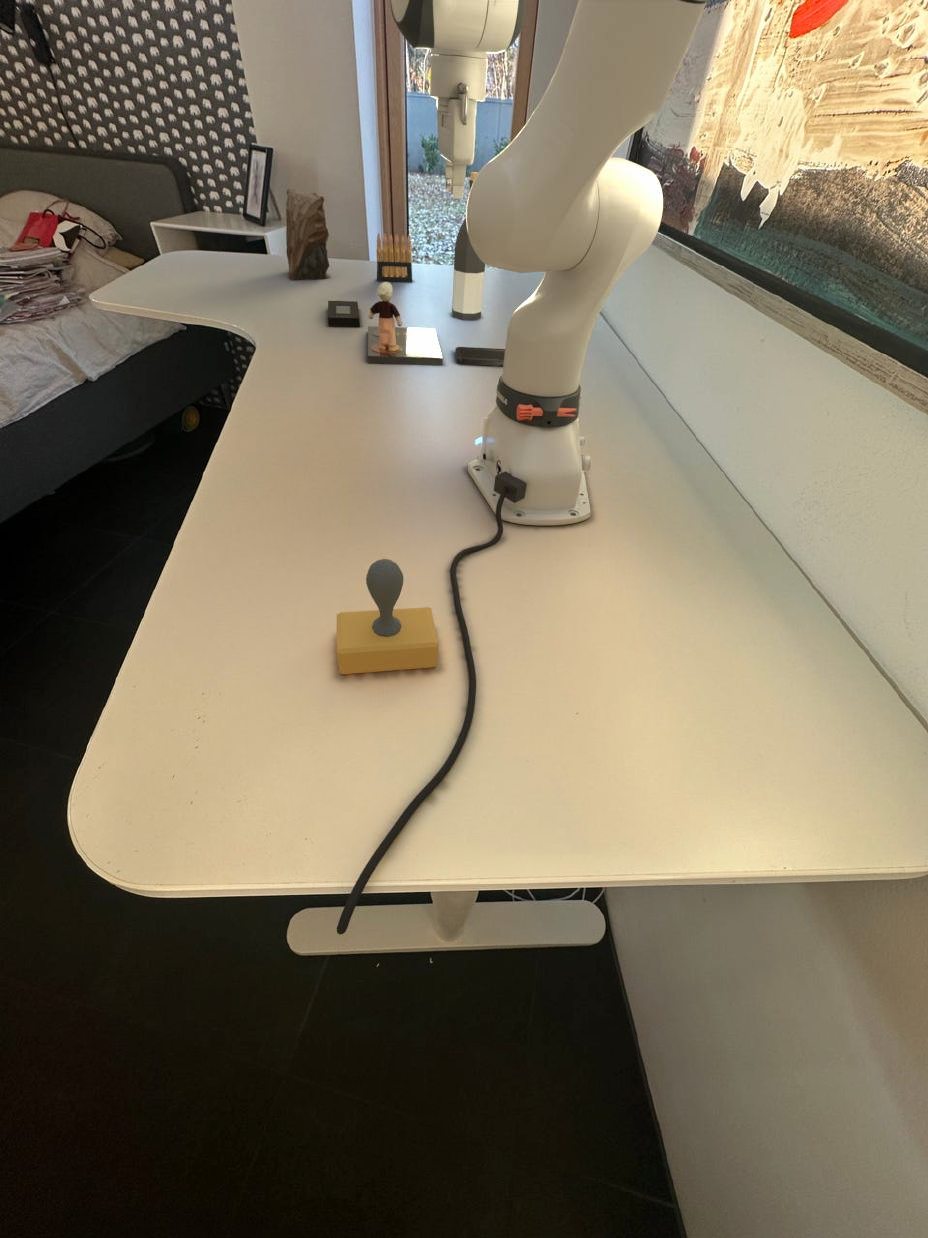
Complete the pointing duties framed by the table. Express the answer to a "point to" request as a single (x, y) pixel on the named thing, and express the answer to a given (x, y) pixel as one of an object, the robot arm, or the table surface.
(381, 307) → the grandmother figurine
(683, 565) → the table surface
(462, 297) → the wine bottle
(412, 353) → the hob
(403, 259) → the ammunition clip
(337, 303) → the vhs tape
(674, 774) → the table surface
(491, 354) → the phone
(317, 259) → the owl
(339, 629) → the rubber stamp
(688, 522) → the table surface
